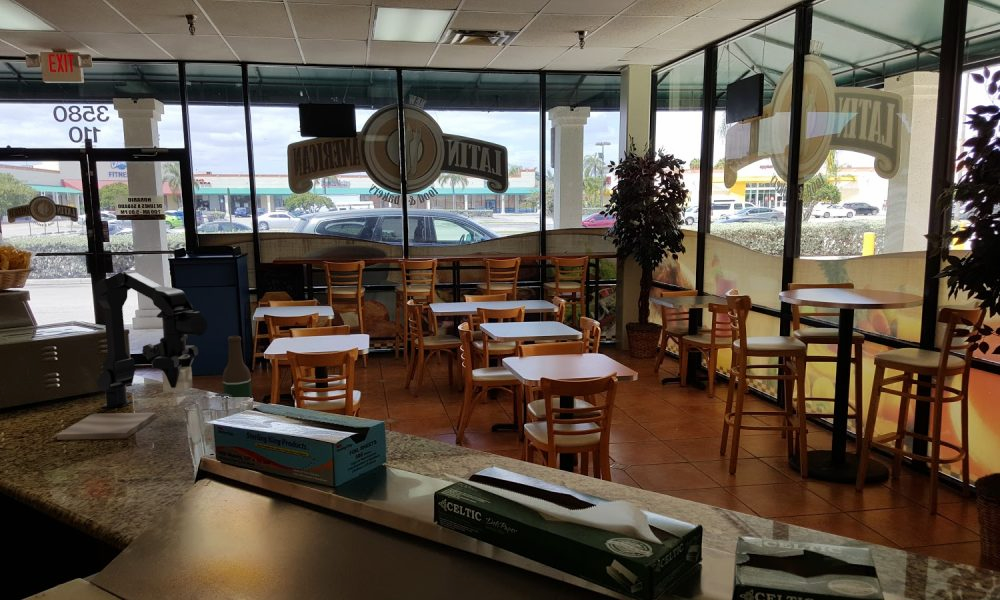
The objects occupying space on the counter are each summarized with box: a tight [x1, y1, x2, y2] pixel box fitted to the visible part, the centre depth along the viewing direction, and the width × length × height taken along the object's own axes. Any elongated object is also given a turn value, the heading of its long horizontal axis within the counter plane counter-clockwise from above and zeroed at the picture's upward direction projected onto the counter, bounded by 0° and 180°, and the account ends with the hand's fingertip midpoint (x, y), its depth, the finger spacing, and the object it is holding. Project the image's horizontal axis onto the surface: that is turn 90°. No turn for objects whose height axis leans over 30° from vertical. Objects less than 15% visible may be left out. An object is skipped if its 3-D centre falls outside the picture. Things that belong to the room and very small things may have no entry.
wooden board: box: [56, 412, 157, 441], centre depth 191 cm, size 18×18×2 cm
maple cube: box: [161, 366, 193, 393], centre depth 201 cm, size 6×6×6 cm
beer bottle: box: [222, 335, 253, 399], centre depth 200 cm, size 8×8×24 cm
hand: (177, 384), depth 201 cm, fingers closed on maple cube, 6 cm apart
